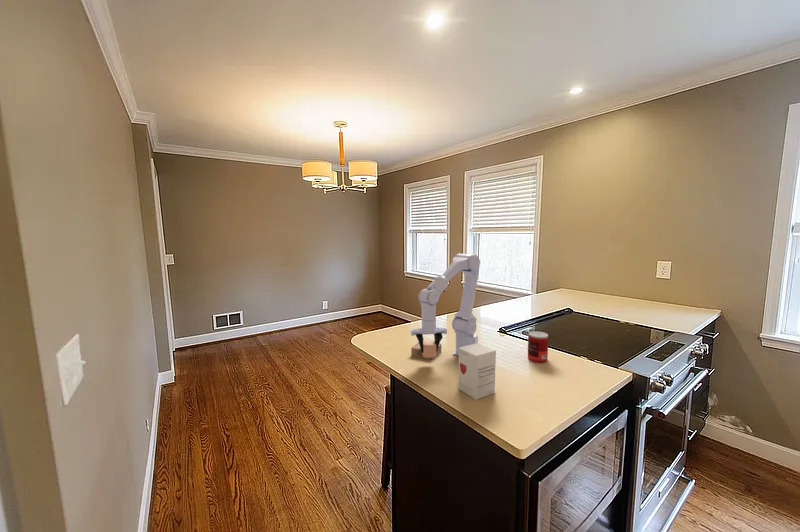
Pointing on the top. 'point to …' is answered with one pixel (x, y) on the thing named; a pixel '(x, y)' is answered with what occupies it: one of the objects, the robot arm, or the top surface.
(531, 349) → the canned food
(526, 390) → the top surface
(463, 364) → the supplement box
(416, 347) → the walnut block
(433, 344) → the terracotta cube
